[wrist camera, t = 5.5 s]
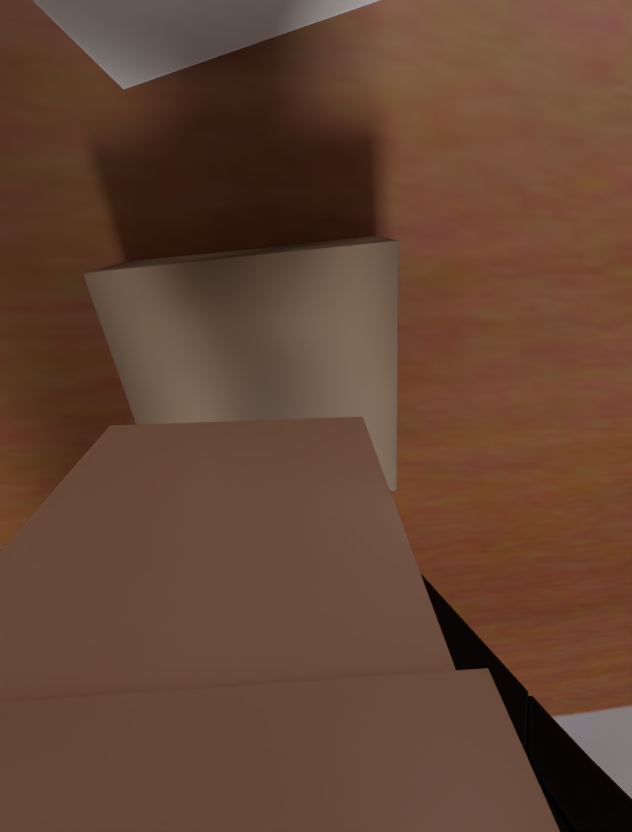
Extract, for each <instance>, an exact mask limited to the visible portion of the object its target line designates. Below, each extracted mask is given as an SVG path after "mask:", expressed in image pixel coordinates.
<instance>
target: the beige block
mask: <svg viewBox="0 0 632 832" xmlns="http://www.w3.org/2000/svg"><path fill="white" fill-rule="evenodd" d="M398 260H399V241H398V240H394V239H389V238H384V237H379V236H370V237H361V238H351V239H341V240H332V241H322V242H312V243H303V244H293V245H283V246H273V247H264V248H254V249H244V250H235V251H225V252H215V253H206V254H196V255H186V256H177V257H167V258H157V259H147V260H138V261H128V262H124V263H120V264H116V265H112V266H108V267H104V268H100V269H97V270H93V271H89V272H85V273H83V276H84V279H85V281H86V284H87V287H88V290H89V293H90V296H91V298H92V301H93V304H94V307H95V310H96V312H97V315H98V318H99V321H100V324H101V327H102V329H103V332H104V335H105V338H106V341H107V343H108V346H109V349H110V352H111V355H112V358H113V360H114V363H115V366H116V369H117V372H118V374H119V377H120V380H121V383H122V386H123V389H124V391H125V394H126V397H127V400H128V403H129V405H130V408H131V411H132V414H133V417H134V420H135V422H136V425H141V424H169V423H196V422H224V421H251V420H279V419H306V418H334V417H362V416H363V419H364V422H365V424H366V427H367V430H368V432H369V435H370V438H371V441H372V443H373V446H374V449H375V452H376V454H377V457H378V460H379V462H380V465H381V468H382V471H383V473H384V476H385V479H386V481H387V484H388V487H389V490H390V491H396V470H397V365H398Z"/></svg>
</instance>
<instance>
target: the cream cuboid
mask: <svg viewBox="0 0 632 832" xmlns="http://www.w3.org/2000/svg"><path fill="white" fill-rule="evenodd" d="M0 832H560V831H559V828H558V826H557V824H556V822H555V819H554V817H553V815H552V812H551V810H550V808H549V806H548V803H547V801H546V799H545V797H544V794H543V792H542V790H541V787H540V785H539V783H538V781H537V778H536V776H535V774H534V772H533V769H532V767H531V765H530V762H529V760H528V758H527V756H526V753H525V751H524V749H523V747H522V744H521V742H520V740H519V738H518V735H517V733H516V731H515V728H514V726H513V724H512V722H511V719H510V717H509V715H508V713H507V710H506V708H505V706H504V703H503V701H502V699H501V697H500V694H499V692H498V690H497V688H496V685H495V683H494V681H493V679H492V676H491V674H490V672H489V669H488V668H484V669H470V670H456V669H455V666H454V664H453V661H452V658H451V655H450V653H449V650H448V647H447V645H446V642H445V639H444V636H443V634H442V631H441V628H440V626H439V623H438V620H437V617H436V615H435V612H434V609H433V607H432V604H431V601H430V598H429V596H428V593H427V590H426V588H425V585H424V582H423V579H422V577H421V574H420V571H419V568H418V566H417V563H416V560H415V558H414V555H413V552H412V549H411V547H410V544H409V541H408V539H407V536H406V533H405V530H404V528H403V525H402V522H401V520H400V517H399V514H398V511H397V509H396V506H395V503H394V500H393V498H392V495H391V492H390V490H389V487H388V484H387V481H386V479H385V476H384V473H383V471H382V468H381V465H380V462H379V460H378V457H377V454H376V452H375V449H374V446H373V443H372V441H371V438H370V435H369V432H368V430H367V427H366V424H365V422H364V419H363V416H362V417H334V418H306V419H279V420H251V421H224V422H196V423H169V424H141V425H113V426H109V427H108V428H107V430H106V431H105V432H104V433H103V434H102V435H101V436H100V438H99V439H98V440H97V441H96V442H95V443H94V444H93V446H92V447H91V448H90V449H89V450H88V451H87V452H86V454H85V455H84V456H83V457H82V458H81V459H80V461H79V462H78V463H77V464H76V465H75V466H74V467H73V469H72V470H71V471H70V472H69V473H68V474H67V475H66V477H65V478H64V479H63V480H62V481H61V482H60V483H59V485H58V486H57V487H56V488H55V489H54V490H53V492H52V493H51V494H50V495H49V496H48V497H47V498H46V500H45V501H44V502H43V503H42V504H41V505H40V506H39V508H38V509H37V510H36V511H35V512H34V513H33V514H32V516H31V517H30V518H29V519H28V520H27V521H26V523H25V524H24V525H23V526H22V527H21V528H20V529H19V531H18V532H17V533H16V534H15V535H14V536H13V537H12V539H11V540H10V541H9V542H8V543H7V544H6V546H5V547H4V548H3V549H2V550H1V551H0Z"/></svg>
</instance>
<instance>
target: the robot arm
mask: <svg viewBox="0 0 632 832" xmlns="http://www.w3.org/2000/svg"><path fill="white" fill-rule="evenodd" d="M420 574H421V573H420ZM421 577H422V579H423V582H424V585H425V588H426V590H427V593H428V596H429V598H430V601H431V604H432V607H433V609H434V612H435V615H436V617H437V620H438V623H439V626H440V628H441V631H442V634H443V636H444V639H445V642H446V645H447V647H448V650H449V653H450V655H451V658H452V661H453V664H454V666H455V669H456V670H470V669H484V668H488V669H489V672H490V674H491V676H492V679H493V681H494V683H495V685H496V688H497V690H498V692H499V694H500V697H501V699H502V701H503V703H504V706H505V708H506V710H507V713H508V715H509V717H510V719H511V722H512V724H513V726H514V728H515V731H516V733H517V735H518V738H519V740H520V742H521V744H522V747H523V749H524V751H525V753H526V756H527V758H528V760H529V762H530V765H531V767H532V769H533V772H534V774H535V776H536V778H537V781H538V783H539V785H540V787H541V790H542V792H543V794H544V797H545V799H546V801H547V803H548V806H549V808H550V810H551V812H552V815H553V817H554V819H555V822H556V824H557V826H558V828H559V831H560V832H632V799H631V798H630V797H629V796H628V795H627V794H626V793H625V792H624V791H623V790H622V789H621V788H620V787H619V786H618V785H617V784H616V783H615V782H614V781H613V780H612V779H611V778H610V777H609V776H608V775H607V774H606V773H605V772H604V771H603V770H602V769H601V768H600V767H599V766H598V765H597V764H596V763H595V762H594V761H593V760H592V759H591V758H590V757H589V756H588V755H587V754H586V753H585V752H584V751H583V750H582V749H581V748H580V747H579V746H578V744H577V743H576V742H575V741H574V740H573V739H572V738H571V737H570V736H569V735H568V734H567V733H566V732H565V731H564V730H563V729H562V728H561V727H560V726H559V724H558V723H557V722H556V721H555V720H554V719H553V718H552V717H551V716H550V715H549V714H548V712H547V711H546V710H545V709H544V708H543V707H542V706H541V705H540V704H539V703H538V701H537V700H536V699H535V698H534V697H533V696H529V697H528V691H527V690H526V688H525V687H524V686H523V685H522V684H521V683H520V682H519V681H518V680H517V679H516V677H515V676H514V675H513V674H512V673H511V672H510V671H509V670H508V669H507V668H506V667H505V665H504V664H503V663H502V662H501V661H500V660H499V659H498V658H497V657H496V656H495V654H494V653H493V652H492V651H491V650H490V649H489V648H488V647H487V646H486V645H485V643H484V642H483V641H482V640H481V639H480V638H479V637H478V636H477V635H476V634H475V632H474V631H473V630H472V629H471V628H470V627H469V626H468V625H467V624H466V623H465V621H464V620H463V619H462V618H461V617H460V616H459V615H458V614H457V613H456V612H455V610H454V609H453V608H452V607H451V606H450V605H449V604H448V603H447V602H446V601H445V599H444V598H443V597H442V596H441V595H440V594H439V593H438V592H437V591H436V590H435V588H434V587H433V586H432V585H431V584H430V583H429V582H428V581H427V580H426V579H425V577H424V576H423V575H422V574H421Z"/></svg>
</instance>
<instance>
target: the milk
mask: <svg viewBox="0 0 632 832" xmlns="http://www.w3.org/2000/svg"><path fill="white" fill-rule="evenodd" d="M32 1H33V2H34V3H35V4H36V5H37V6H38V7H39V8H40V9H41V10H42V11H43V12H44V13H45V14H46V15H48V16H49V17H50V18H51V19H52V20H53V21H54V22H55V23H56V24H57V25H58V26H59V27H60V28H61V29H62V30H63V31H64V32H65V33H66V34H67V35H68V36H69V37H70V38H71V39H72V40H73V41H74V42H75V43H76V44H77V45H78V46H79V47H80V48H81V49H82V50H83V51H84V52H85V53H86V54H88V55H89V56H90V57H91V58H92V59H93V60H94V61H95V62H96V63H97V64H98V65H99V66H100V67H101V68H102V69H103V70H104V71H105V72H106V73H107V74H108V75H109V76H110V77H111V78H112V79H113V80H114V81H115V82H116V83H117V84H118V85H119V86H120V87H121V88H122V89H123V90H124V89H126V88H129V87H132V86H135V85H138V84H141V83H144V82H147V81H149V80H152V79H155V78H158V77H161V76H164V75H167V74H170V73H172V72H175V71H178V70H181V69H184V68H187V67H190V66H193V65H195V64H198V63H201V62H204V61H207V60H210V59H213V58H216V57H218V56H221V55H224V54H227V53H230V52H233V51H236V50H239V49H241V48H244V47H247V46H250V45H253V44H256V43H259V42H262V41H264V40H267V39H270V38H273V37H276V36H279V35H282V34H285V33H287V32H290V31H293V30H296V29H299V28H302V27H305V26H308V25H310V24H313V23H316V22H319V21H322V20H325V19H328V18H331V17H333V16H336V15H339V14H342V13H345V12H348V11H351V10H354V9H356V8H359V7H362V6H365V5H368V4H371V3H374V2H377V1H379V0H32Z"/></svg>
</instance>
